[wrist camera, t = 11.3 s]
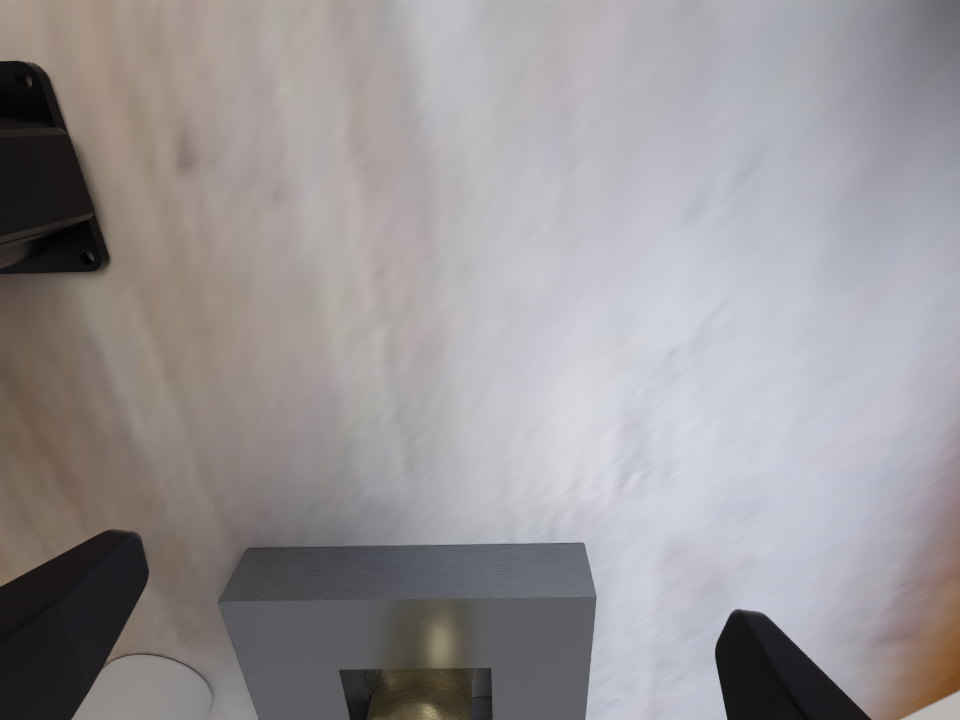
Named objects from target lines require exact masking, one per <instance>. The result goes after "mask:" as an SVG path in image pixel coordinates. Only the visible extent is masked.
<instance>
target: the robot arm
mask: <svg viewBox="0 0 960 720" xmlns="http://www.w3.org/2000/svg"><path fill="white" fill-rule="evenodd" d="M26 73H28V74H29V75H30V77H31V79H32V86H31V87H30V86H28V84H27V82H26V81H25V75H26ZM87 251H89V252H90V253H92V255H93V256H94V261H92V260H91V259H90V258H89V257H88V255H87ZM108 261H109V256H108V252H107V249H106V246H105V243H104V240H103V237H102V234H101V231H100V228H99V225H98V222H97V219H96V217H95V214H94V208H93V205H92V202H91V199H90V196H89V193H88V190H87V187H86V184H85V181H84V178H83V175H82V172H81V170H80V167H79V164H78V161H77V158H76V155H75V152H74V149H73V146H72V143H71V140H70V137H69V136H68V134H67V131H66V128H65V125H64V122H63V119H62V116H61V113H60V110H59V107H58V104H57V101H56V98H55V95H54V92H53V89H52V86H51V83H50V80H49V78H48V76H47V74H46V73H45V71H44V70H43V69H42V68H41V67H39V66H38V65H36V64H34V63H30V62H22V61H0V274H17V273H54V272H90V271H96V270H99V269H101V268H104V267H105V266H106V265H107V264H108ZM148 576H149V569H148V564H147V560H146V555H145V551H144V547H143V543H142V539H141V536H140V535H139V534H138V533H136V532H132V531H124V530H117V529H112V530H107V531H104V532H102V533H100V534H98V535H96V536H95V537H93V538H91V539H89V540H87V541H85V542H83V543H82V544H80V545H78V546H76V547H74V548H72V549H70V550H68V551H67V552H65V553H63V554H61V555H59V556H57V557H55V558H53V559H52V560H50V561H48V562H46V563H44V564H42V565H40V566H38V567H37V568H35V569H33V570H31V571H29V572H27V573H25V574H24V575H22V576H20V577H18V578H16V579H14V580H12V581H10V582H9V583H7V584H5V585H3V586H1V587H0V720H71V719H72V718H73V716H74V715H75V713H76V712H77V710H78V709H79V707H80V705H81V704H82V702H83V701H84V699H85V697H86V696H87V694H88V693H89V691H90V689H91V687H92V686H93V684H94V682H95V680H96V679H97V677H98V675H99V673H100V671H101V669H102V668H103V666H104V664H105V662H106V660H107V658H108V656H109V654H110V653H111V651H112V649H113V647H114V645H115V643H116V641H117V639H118V637H119V636H120V634H121V632H122V630H123V628H124V626H125V624H126V622H127V620H128V619H129V617H130V615H131V613H132V611H133V609H134V607H135V605H136V603H137V602H138V600H139V598H140V596H141V594H142V592H143V590H144V588H145V586H146V584H147V581H148ZM715 658H716V664H717V669H718V674H719V679H720V685H721V690H722V695H723V700H724V705H725V710H726V715H727V720H871V719H870V718H869V717H868V716H867V715H866V714H865V713H864V712H863V711H862V710H861V709H860V708H859V707H858V706H857V705H856V704H855V703H854V702H853V701H852V700H851V699H850V698H849V697H848V696H847V695H846V694H845V693H844V692H843V691H842V690H841V689H840V688H839V687H838V686H837V685H836V684H835V683H834V682H833V681H832V680H831V679H830V678H829V677H828V676H827V675H826V674H825V673H824V672H823V671H822V670H821V669H820V668H819V667H818V666H817V665H816V664H815V663H814V662H813V661H812V660H811V659H810V658H809V657H808V656H807V655H806V654H805V653H804V652H803V651H802V650H801V649H800V648H799V647H798V646H797V645H796V644H795V643H794V642H793V641H792V640H791V639H790V638H789V637H788V636H787V635H786V634H785V633H784V632H783V631H782V630H781V629H780V628H779V627H778V626H777V625H776V624H775V623H774V622H773V621H772V620H770V619H769V618H768V617H767V616H766V615H764V614H763V613H761V612H757V611H749V610H741V609H736V610H734V611H733V612H731V614H730V616H729V618H728V620H727V622H726V624H725V626H724V628H723V630H722V633H721V635H720V637H719V639H718V641H717V644H716V648H715Z"/></svg>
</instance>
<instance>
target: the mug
mask: <svg viewBox="0 0 960 720" xmlns="http://www.w3.org/2000/svg"><path fill="white" fill-rule="evenodd" d="M211 705H212V694H211V690H210V688H209V686H208V684H207V683H206V682H205V680H204V679H203V678H202V677H201V676H200V675H199V674H197V673H196V672H195V671H193V670H192V669H190V668H189V667H187V666H185V665H183V664H181V663H179V662H176V661H174V660H171V659H168V658H164V657H159V656H153V655H130V656H125V657H122V658H119V659H116V660H114V661H112V662H111V663H109V664H108V665H107V666H106V667H105V668H104V669H103V670H102V671H101V672H100V674H99V675H98V677H97V679H96V680H95V682H94V684H93V686H92V687H91V689H90V691H89V693H88V694H87V696H86V697H85V699H84V701H83V702H82V704H81V705H80V707H79V709H78V710H77V712H76V713H75V715H74V716H73V718H72V719H71V720H206V718H207V715H208V713H209V711H210V708H211Z"/></svg>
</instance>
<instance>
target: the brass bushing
mask: <svg viewBox="0 0 960 720" xmlns="http://www.w3.org/2000/svg"><path fill="white" fill-rule="evenodd" d="M472 680H473V668H441V669H377V670H376V676H375V681H374V686H373V691H372V696H371V701H370V706H369V712H368V717H367V720H472Z"/></svg>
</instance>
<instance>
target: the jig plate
mask: <svg viewBox="0 0 960 720" xmlns="http://www.w3.org/2000/svg"><path fill="white" fill-rule="evenodd" d="M218 603H219V606H220V609H221V612H222V615H223V618H224V621H225V624H226V626H227V629H228V632H229V635H230V638H231V641H232V644H233V647H234V649H235V652H236V655H237V658H238V661H239V664H240V667H241V670H242V673H243V675H244V678H245V681H246V684H247V687H248V690H249V693H250V696H251V699H252V701H253V704H254V707H255V710H256V713H257V716H258V719H259V720H367V717H368V712H369V706H370V701H371V699H370V696H369V691H368V685H367V680H366V675H365V670H364V669H441V668H491V680H492V698H472V720H585V717H586V706H587V695H588V684H589V673H590V662H591V651H592V640H593V630H594V619H595V608H596V592H595V588H594V583H593V579H592V575H591V570H590V566H589V562H588V557H587V553H586V549H585V544H584V543H564V544H500V545H437V546H373V547H309V548H247V550H246V551H245V553H244V555H243V557H242V559H241V561H240V562H239V564H238V566H237V568H236V570H235V572H234V573H233V575H232V577H231V579H230V581H229V583H228V584H227V586H226V588H225V590H224V592H223V593H222V595H221V597H220V599H219V601H218Z"/></svg>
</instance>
